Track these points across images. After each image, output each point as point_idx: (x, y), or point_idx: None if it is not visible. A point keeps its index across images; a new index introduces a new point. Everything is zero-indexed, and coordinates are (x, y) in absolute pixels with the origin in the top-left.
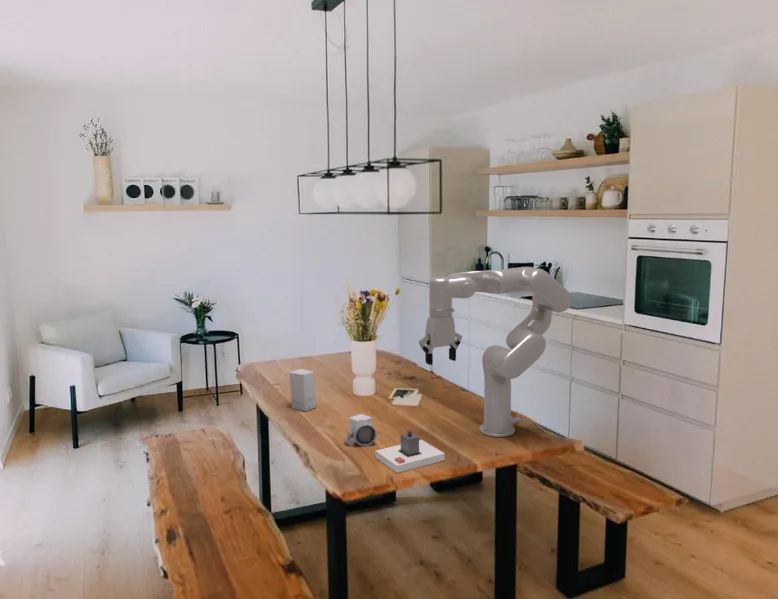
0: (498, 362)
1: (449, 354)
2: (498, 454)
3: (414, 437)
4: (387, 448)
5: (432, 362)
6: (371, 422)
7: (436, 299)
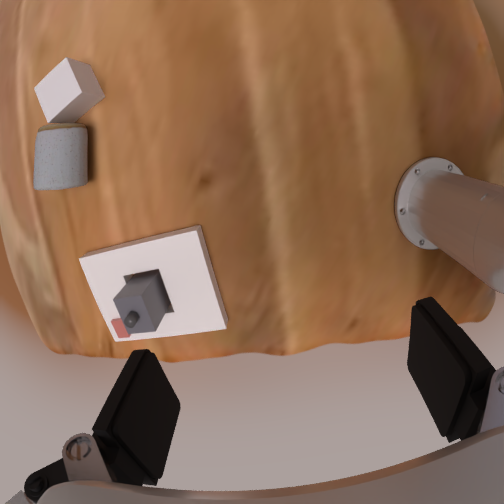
0: None
1: (433, 338)
2: (355, 326)
3: (144, 329)
4: (103, 256)
5: (176, 417)
6: (88, 94)
7: None
